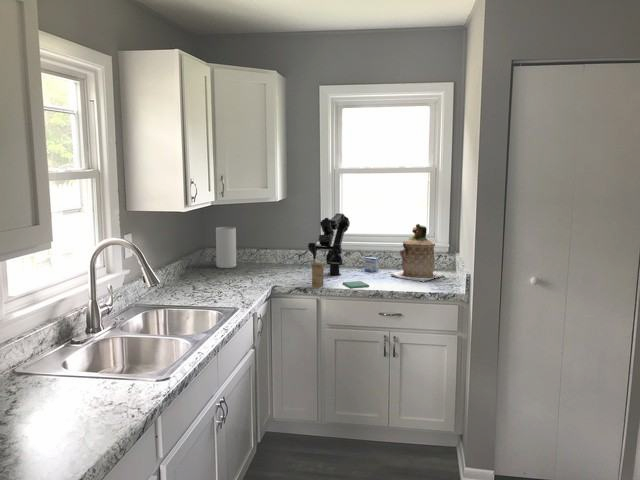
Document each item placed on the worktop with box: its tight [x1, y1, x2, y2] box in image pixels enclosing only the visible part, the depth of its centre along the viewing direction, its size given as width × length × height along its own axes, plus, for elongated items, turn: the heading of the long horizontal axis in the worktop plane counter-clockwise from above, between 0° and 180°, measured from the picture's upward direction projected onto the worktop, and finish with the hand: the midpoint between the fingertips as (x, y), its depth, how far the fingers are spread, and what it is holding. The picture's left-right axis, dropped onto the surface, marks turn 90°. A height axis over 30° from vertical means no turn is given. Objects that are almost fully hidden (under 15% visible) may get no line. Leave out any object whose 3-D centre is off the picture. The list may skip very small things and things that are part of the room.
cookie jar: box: [389, 223, 445, 283], centre depth 324 cm, size 25×25×32 cm
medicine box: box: [364, 256, 380, 273], centre depth 340 cm, size 8×4×9 cm, turn 62°
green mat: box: [342, 280, 370, 289], centre depth 301 cm, size 11×11×1 cm
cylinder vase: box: [215, 226, 237, 269], centre depth 350 cm, size 12×12×25 cm
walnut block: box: [311, 262, 325, 289], centre depth 297 cm, size 5×5×12 cm
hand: (321, 260), depth 303 cm, fingers open, 9 cm apart
